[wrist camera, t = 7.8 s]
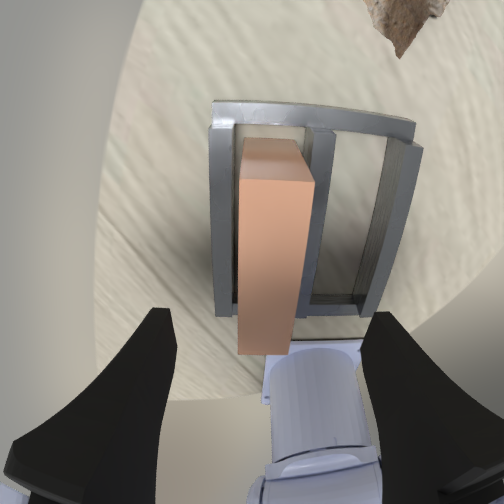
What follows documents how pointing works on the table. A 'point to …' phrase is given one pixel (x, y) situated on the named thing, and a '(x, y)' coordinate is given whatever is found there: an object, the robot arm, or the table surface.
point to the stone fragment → (402, 18)
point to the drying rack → (315, 197)
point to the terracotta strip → (271, 242)
